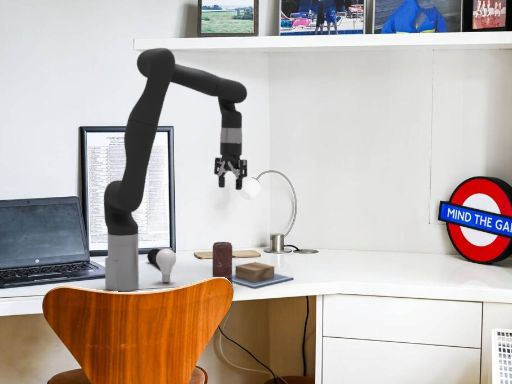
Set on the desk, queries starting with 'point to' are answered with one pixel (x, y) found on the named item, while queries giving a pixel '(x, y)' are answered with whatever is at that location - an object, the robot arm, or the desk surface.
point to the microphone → (153, 256)
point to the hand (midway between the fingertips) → (230, 188)
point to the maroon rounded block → (222, 260)
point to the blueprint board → (277, 279)
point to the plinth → (254, 272)
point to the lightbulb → (166, 263)
